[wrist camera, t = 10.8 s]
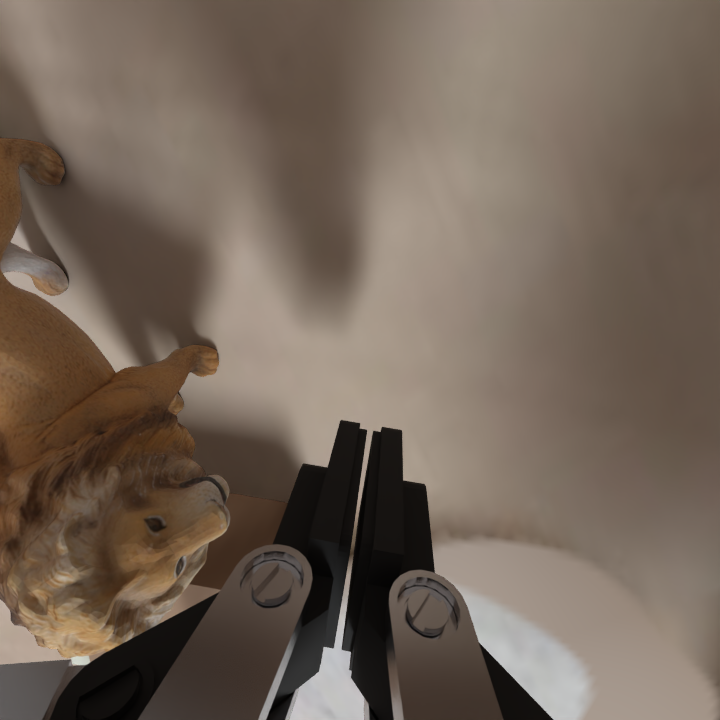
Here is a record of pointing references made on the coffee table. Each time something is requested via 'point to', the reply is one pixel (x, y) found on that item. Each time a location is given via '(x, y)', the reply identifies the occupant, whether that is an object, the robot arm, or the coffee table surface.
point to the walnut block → (226, 551)
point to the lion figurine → (89, 460)
